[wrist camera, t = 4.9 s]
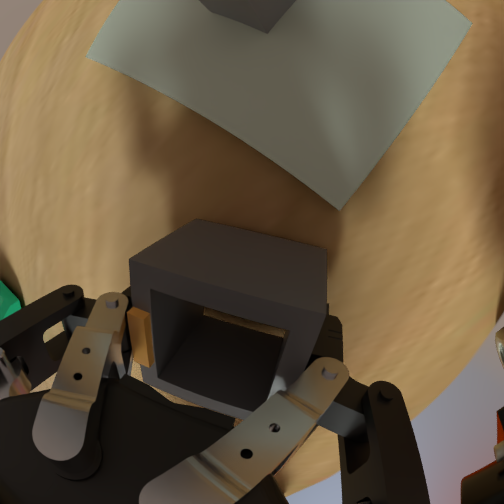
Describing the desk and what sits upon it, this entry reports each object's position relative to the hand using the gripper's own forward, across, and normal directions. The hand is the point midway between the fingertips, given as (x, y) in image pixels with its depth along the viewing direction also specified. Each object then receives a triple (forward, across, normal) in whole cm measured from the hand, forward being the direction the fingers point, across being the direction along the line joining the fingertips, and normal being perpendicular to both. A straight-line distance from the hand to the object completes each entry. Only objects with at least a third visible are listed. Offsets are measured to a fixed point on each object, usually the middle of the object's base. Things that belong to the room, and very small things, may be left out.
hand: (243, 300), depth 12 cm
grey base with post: (+1, +2, -14) cm, 14 cm away
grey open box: (+1, 0, 0) cm, 1 cm away
